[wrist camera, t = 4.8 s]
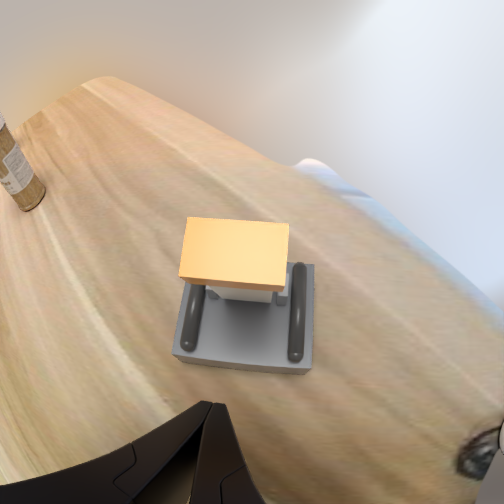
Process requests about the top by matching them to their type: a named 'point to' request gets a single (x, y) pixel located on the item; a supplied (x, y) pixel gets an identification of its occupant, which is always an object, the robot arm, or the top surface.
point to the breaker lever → (235, 257)
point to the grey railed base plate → (249, 327)
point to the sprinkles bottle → (17, 172)
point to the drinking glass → (502, 439)
